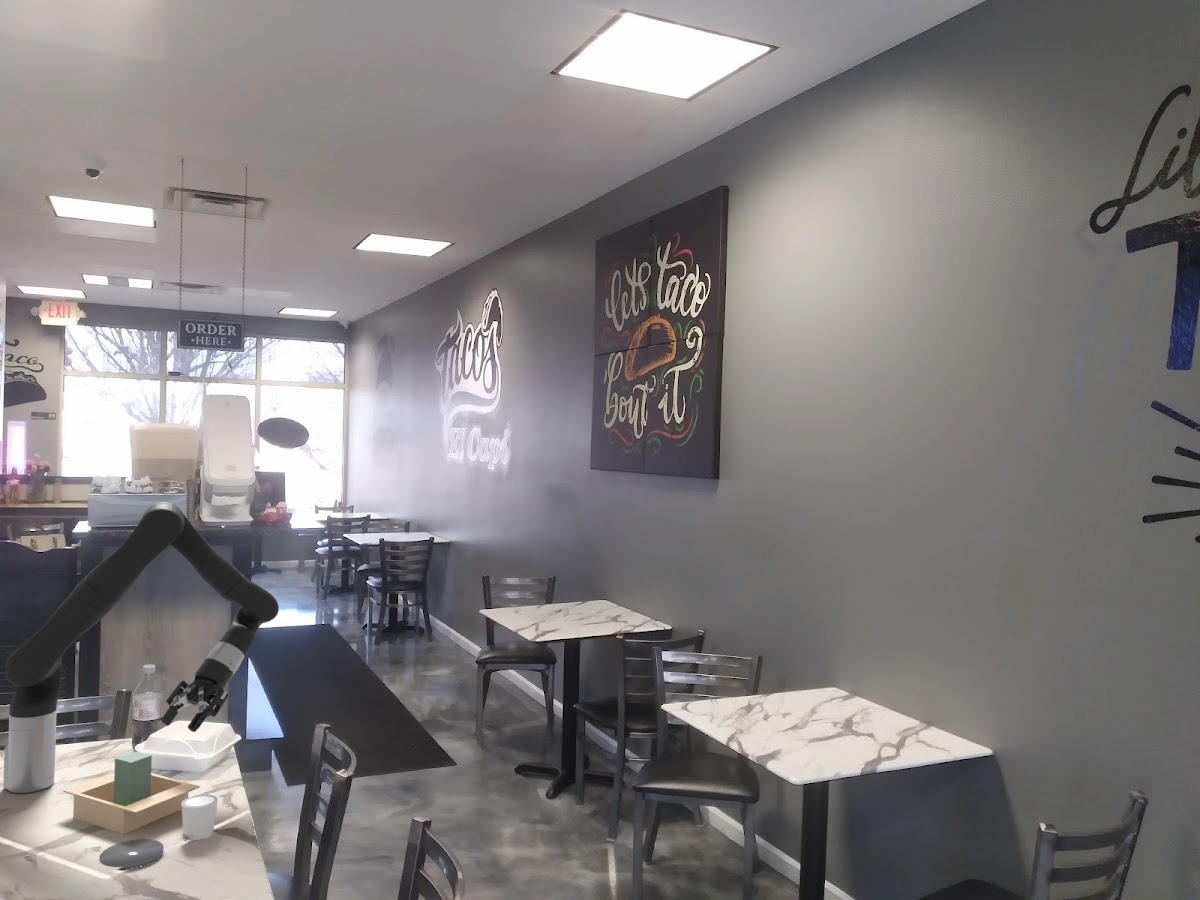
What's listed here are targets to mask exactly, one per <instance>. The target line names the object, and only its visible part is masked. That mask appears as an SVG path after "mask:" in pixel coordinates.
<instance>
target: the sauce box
mask: <svg viewBox="0 0 1200 900" xmlns="http://www.w3.org/2000/svg"><path fill="white" fill-rule="evenodd" d="M152 760H153V756H152V755H151V754H147V753H144V752H141V751H140V752H139V751H133V752H130V753H127V754H124V755H121V756H118V757H116V758H114V772H115V774H114V803H115V804H118V805H122V806H127V805H130V804H133V803H135V802H138V801H140V800H143V799H145V798H148V797H150V794H151V773H152V762H153V761H152Z"/></svg>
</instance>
